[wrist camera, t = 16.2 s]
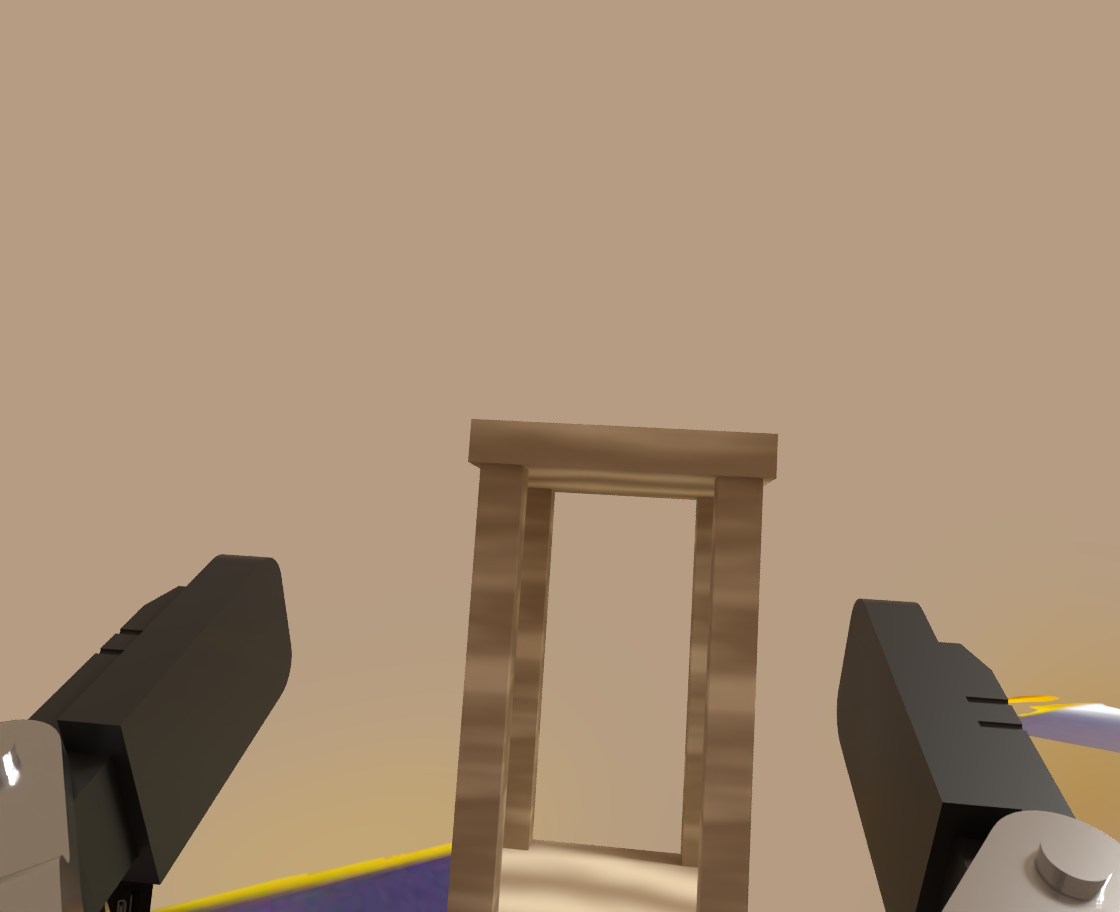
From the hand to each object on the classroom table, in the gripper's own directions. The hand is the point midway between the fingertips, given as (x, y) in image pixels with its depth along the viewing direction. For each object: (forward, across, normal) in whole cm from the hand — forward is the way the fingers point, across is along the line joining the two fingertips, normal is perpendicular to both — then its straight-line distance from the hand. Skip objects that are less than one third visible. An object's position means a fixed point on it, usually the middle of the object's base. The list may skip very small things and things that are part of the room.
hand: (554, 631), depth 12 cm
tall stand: (+17, 0, +39) cm, 42 cm away
